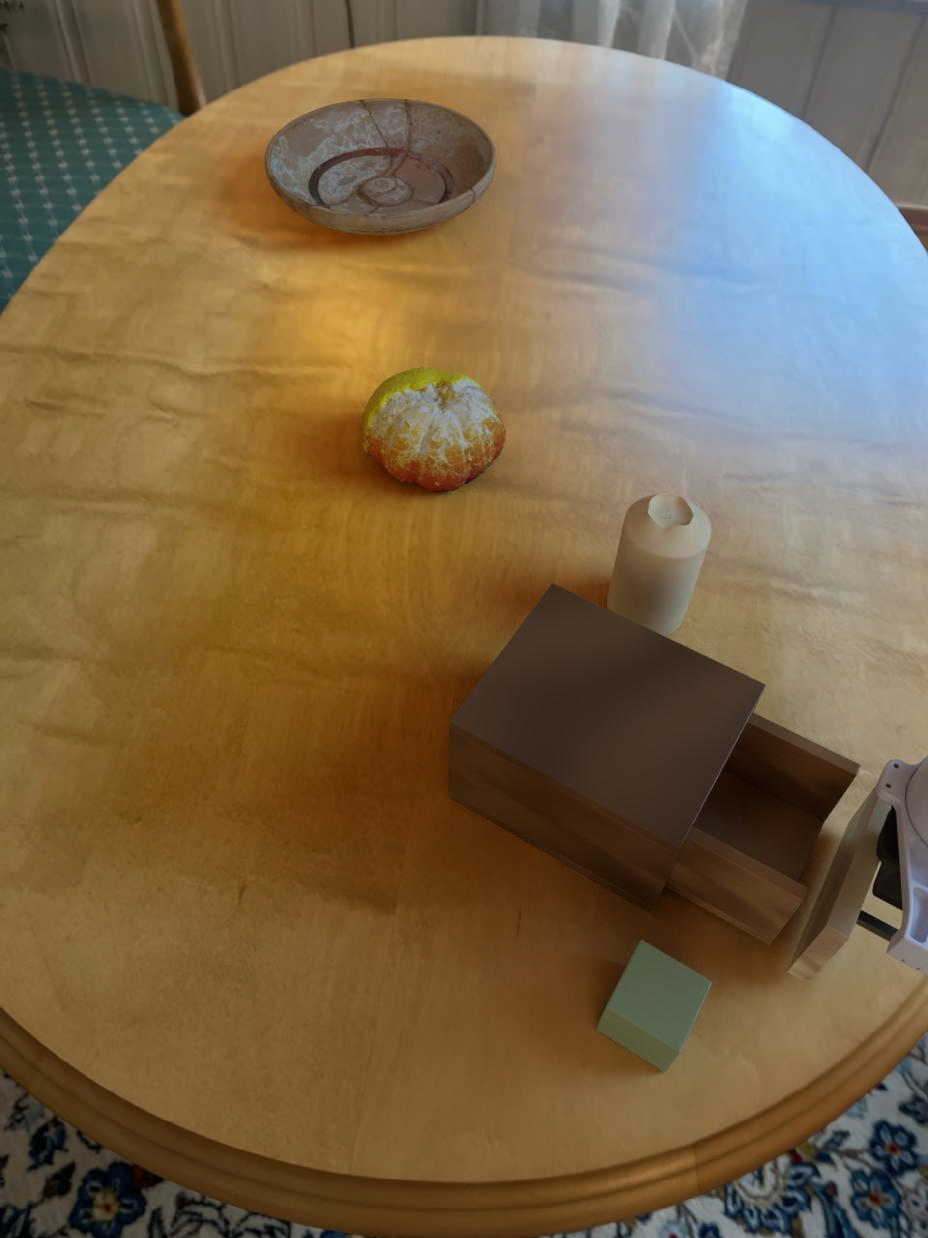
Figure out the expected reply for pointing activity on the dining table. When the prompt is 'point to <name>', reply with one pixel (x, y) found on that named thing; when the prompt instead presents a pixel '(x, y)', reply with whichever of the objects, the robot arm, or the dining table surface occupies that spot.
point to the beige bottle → (658, 561)
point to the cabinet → (598, 741)
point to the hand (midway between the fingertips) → (894, 893)
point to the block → (654, 1006)
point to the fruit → (432, 428)
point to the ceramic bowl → (380, 165)
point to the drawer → (782, 844)
